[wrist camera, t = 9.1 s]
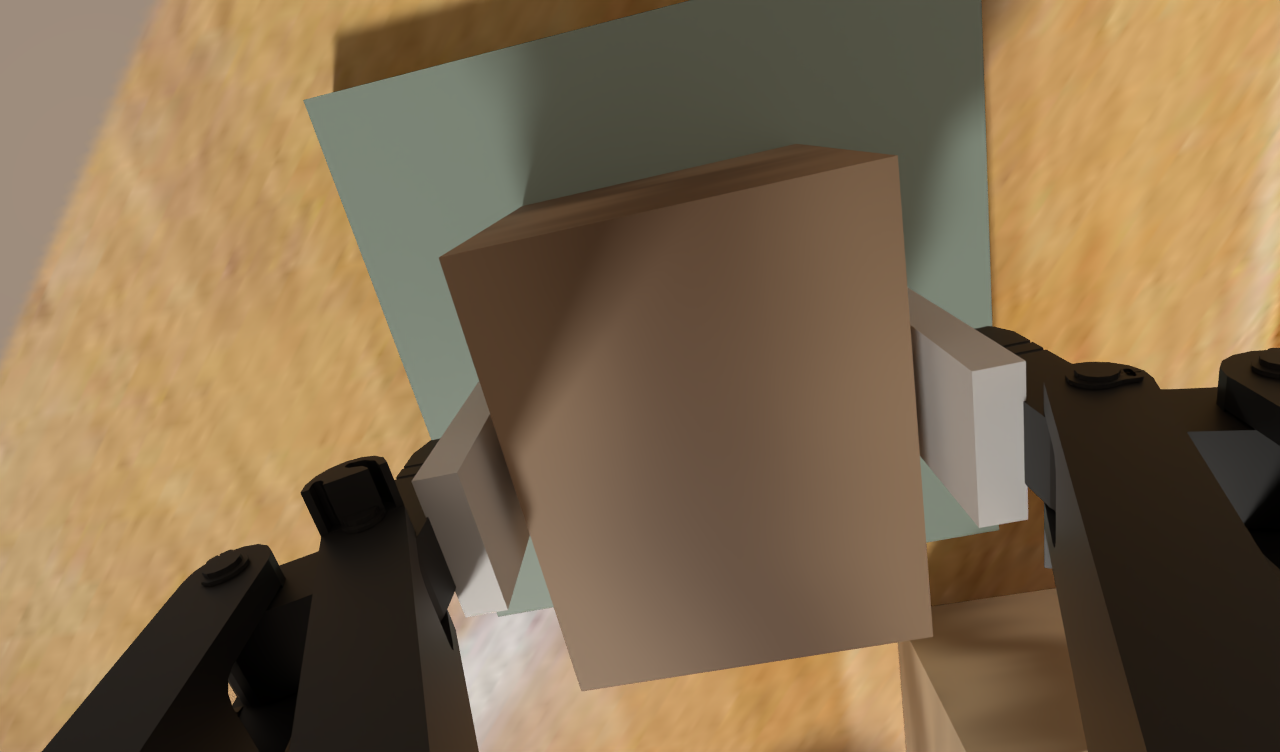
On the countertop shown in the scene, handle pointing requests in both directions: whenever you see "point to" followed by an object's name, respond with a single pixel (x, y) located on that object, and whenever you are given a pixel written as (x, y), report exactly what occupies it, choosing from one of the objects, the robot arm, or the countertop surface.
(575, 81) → the baseplate
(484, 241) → the walnut brick
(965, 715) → the maple cap block
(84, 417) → the countertop surface
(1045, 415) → the robot arm
